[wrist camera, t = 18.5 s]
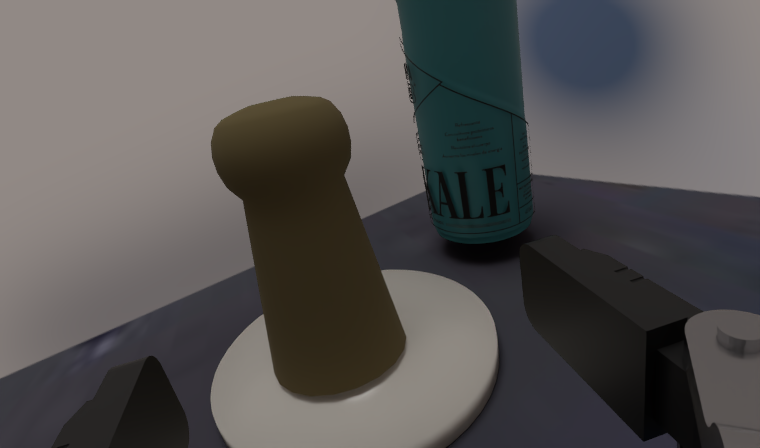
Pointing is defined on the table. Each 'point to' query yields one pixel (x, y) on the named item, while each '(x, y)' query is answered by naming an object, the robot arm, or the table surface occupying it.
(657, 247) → the table surface
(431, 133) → the beverage bottle
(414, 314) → the saucer
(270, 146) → the cork
